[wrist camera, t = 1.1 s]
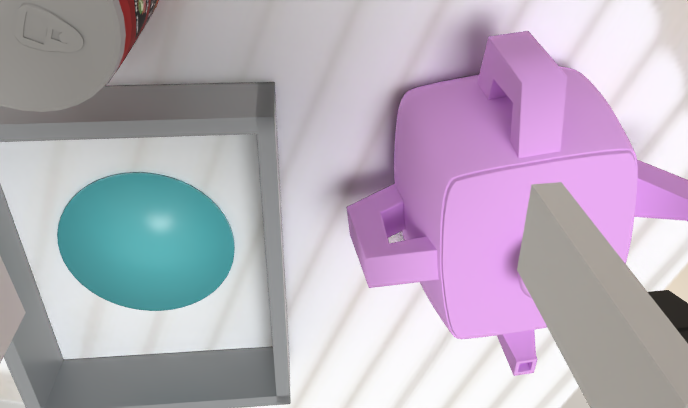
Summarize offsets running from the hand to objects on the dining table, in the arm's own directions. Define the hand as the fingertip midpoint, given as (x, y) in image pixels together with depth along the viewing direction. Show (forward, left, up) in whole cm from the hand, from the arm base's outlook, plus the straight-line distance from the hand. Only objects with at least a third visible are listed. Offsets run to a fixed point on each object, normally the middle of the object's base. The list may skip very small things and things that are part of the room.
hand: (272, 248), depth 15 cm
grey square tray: (+17, -10, -23) cm, 30 cm away
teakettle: (+11, +14, -23) cm, 29 cm away
